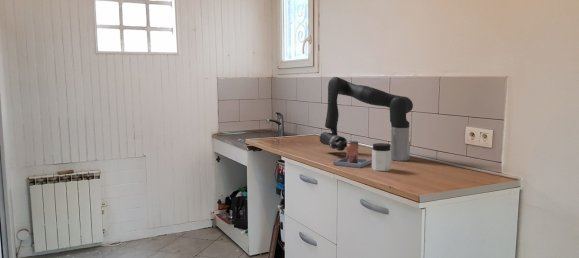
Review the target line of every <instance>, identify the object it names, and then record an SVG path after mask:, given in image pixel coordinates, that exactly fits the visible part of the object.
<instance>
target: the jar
mask: <svg viewBox="0 0 579 258" xmlns="http://www.w3.org/2000/svg"><path fill="white" fill-rule="evenodd" d="M371 170H374V171H376V172H388V171H391V170H392V159H391V143H385V142H384V143H382V142H380V143H379V142H378V143H376V142H375V143H373V145H372V149H371Z"/></svg>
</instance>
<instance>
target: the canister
mask: <svg viewBox="0 0 579 258" xmlns="http://www.w3.org/2000/svg"><path fill="white" fill-rule="evenodd" d="M346 157H347V160H346V162H347V163H356V164H358V159H359V141H356V140H347V148H346Z"/></svg>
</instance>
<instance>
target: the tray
mask: <svg viewBox="0 0 579 258" xmlns="http://www.w3.org/2000/svg"><path fill="white" fill-rule="evenodd" d="M346 160H347V156H346V157H342V158H339V159H337V160H335V161H333V166H338V167H339V166H341V167H347V168H357V169H361V168H363V167H365V166H367V165H370V164H372V159H366V158H358V164H356V163H347V162H346Z"/></svg>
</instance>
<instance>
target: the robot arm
mask: <svg viewBox="0 0 579 258" xmlns="http://www.w3.org/2000/svg"><path fill="white" fill-rule="evenodd" d="M338 95H340V96H341V95H342V96H347V97H352V98H353V99H355V100H357V101H360V102H361V103H365V104H366V105H367V104H368V105H371V106H377V107H384V108H385V107H386V108H389V122H390V124H391V130H390V145H391V148H390V150H391V161H400V162H402V161H403V162H406V161H407V162H408V161H409V160H410V158H411V156H410V155H411V141H410V121H408V119H407V114H408V113H410V112H411V111H412V110H413V108H414V103H413V101H412V99H411V98H410V97H407V96H402V95H397V94H392V93H389V92H385V91H383V90H381V89H378V88H375V87H371V86H367V85H361V84H360V85H359V84H355V83H352V82H349V81H347V80H345V79H344V78H341V77H337V76H334V77H331V78H330V79H329V81H328V85H327V109H326V117H325V124H324V127H325V128H326V129H329V130H330V131H331V132H326V131H323V132H322V133H320V135H319V142H320V143H321V144H322V145H323V146H324V145H325V146H329V148H330V149H333V150H334V149H335V150H337V151H340V152H342V151H344V150H347V141H348V140H347V139H346V137H343V136H340V135H338V124H339V118H340V117H339V116H340V115H339V113H340V112H339V107H338V97H339V96H338Z"/></svg>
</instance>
